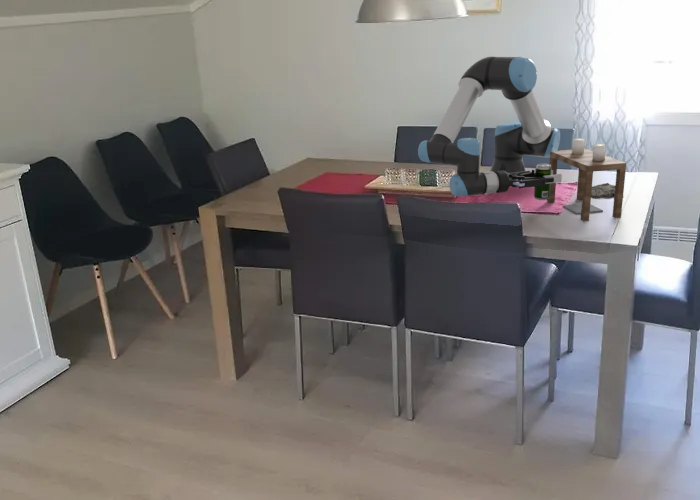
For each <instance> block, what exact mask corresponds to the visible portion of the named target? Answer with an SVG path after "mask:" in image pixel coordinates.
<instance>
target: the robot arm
mask: <svg viewBox="0 0 700 500" xmlns="http://www.w3.org/2000/svg"><path fill="white" fill-rule="evenodd" d="M537 72H538V71H537V67H536V64H535V63H534V61H533V60H532V59H530V58H528V57H522V56H486V57H483V58H481V59H479V60H478V61H475V62H474V63H473V64H472V65H471V66H470V67H469V68H468V69H467V70H466V71H465V72H463V75H462V76H461V77H460V80H459V81H458V89H457V90H456V91H457V92H456V93H455V95H454V96H453V98H452V100H451V102H450V103H449V105H448V107H447V108H446V111H445V113H444V114H443V117H441V120H440V122H439V124H438V126H437V128H436V129H435V131H434V133H433V134H432V136H431V138H430V140H429V139H427V140H423V141H421V142H420V143H419V145H418V149H417V155H418V157H419V158H418V159H420V160H421V161H422V162H424V163H428V164H429V163H430V164H438V165H439V164H440V165H447V166H455V167H456V174H453V175H451V176H450V179H449V191H450V192H451V195H452V196H454V197H469V196H471V197H472V196H480V195H485V196H489V194H495V193H496V194H500V193H501V194H502V193H506V192H508V190H509V188H510V187H511V188H517V187H518V189H520V190H521V189H524V188H525V189H527V188H534V187H538V186H543V187H544V186H545V185H546V184H549V183H556V184H558V183H559V184H560V183H562V179H563V178H562V176H563V174H561V173H560V174H558V173H557V174H556V175H553V170H551V175H547V176H543V177H535V169H531V170H526V168H525V163H524V160H523V159H524V158H523V156H531V157H539V158H548V159H550V151H559V146H560V142H561V131H560V130H561V129H558V128H556V127H554V128H553V127H552V126H551V124H550V122H549V121H548V120H547V119H544V116H543V113H542V112H541V111H542V110H541V109H540V106H539V104H538V101H537V97H536V96H535V93H534V91H533V89H534V88H535V86H536V83H537V79H538V78H537V77H538V74H537ZM488 90H491V91H501V93H502V95H503V97H504V98H505V99H507V100H508V101H510V103H511V105H512V107H513V109H514V112H515V114H516V116H517V118H518V120H519V121H511V122H503V123H500V124H497V126H496V127H495V131H494V154H493V155H494V156H493V157H494V158H493V163H492V165H491V167H490V170H489V171H483V172H480V165H481V163H480V162H481V161H480V160H481V142H480V140H479V139H478V138H475V137H462V138H459V139H458V140H457V143H456V142H455V140H456V138H457V137H458V134H459V133H460V131H461V129H462V127H463V125H464V123H465V122H466V120H467V118H468V116H469V114H470V112H471V110H472V108H473V107H474V106H475V103H476V102H477V99H478V98H480V97H481V96H483V93H484V92H485V91H488Z"/></svg>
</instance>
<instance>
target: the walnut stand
mask: <svg viewBox="0 0 700 500" xmlns="http://www.w3.org/2000/svg"><path fill="white" fill-rule="evenodd" d="M592 159H593V150H592V149H588V148H585V147H584V154H581V155H576V154H572V149H561V150H559V149H558V150H557V151H550V158H549V163H548V164H550V165H551V170H553V175H557V174H558V173H557V172H558V161H559V162H562V163H565V164H567V165H569V166H571V167H574V168H577V169H578V174H577V175H578V177H577V188H576V200H578V201H581V204H582V208H581V214H580V221H583V222H590V214H591V213H590V204H591V203H592V202H591V201H592V198H591V191H592V187H593V176H594V172H603V171H605V172H606V171H616V174H615V175H616V177H615V194H614V197H613V205H612V214H611V215H612V218H614V219H620V218H622V213H623V212H622V211H623V210H622V209H623V201H624V200H623V199H624V191H625V182H626V179H625V178H626V170H627V162H625V161H622V160H619V159H617V158H614V157H611V156H609V155H608V156H607V155H605V160H604V161H593V160H592ZM556 185H557V183H551V185H550V197H549V199H548V200H546V202H547V203H548V204H555V202H556Z"/></svg>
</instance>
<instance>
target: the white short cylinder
mask: <svg viewBox="0 0 700 500" xmlns="http://www.w3.org/2000/svg"><path fill="white" fill-rule="evenodd" d="M585 142H586V139H585V138H580V137H579V138H573V139H572V149H571V150H572V154H576V155H581V154H584V148H585Z"/></svg>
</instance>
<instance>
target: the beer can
mask: <svg viewBox="0 0 700 500" xmlns="http://www.w3.org/2000/svg"><path fill="white" fill-rule="evenodd" d="M534 170H535V177H543V176H547V175H551V165H550V164H549V163H543V162H542V163H537V164H536V165H535V169H534ZM550 185H551V183H549V184H546V185H545V186H544V187H543V186H538V187H533V188H534V191H533V197H534V199H535V200H536V201H547V200H548V199H549V197H550Z"/></svg>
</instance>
